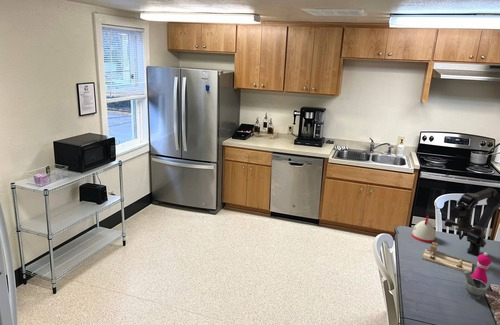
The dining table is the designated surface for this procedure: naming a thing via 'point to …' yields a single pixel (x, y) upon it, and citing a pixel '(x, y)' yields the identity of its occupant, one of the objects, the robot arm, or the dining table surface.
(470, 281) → the mortar and pestle
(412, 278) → the dining table surface
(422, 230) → the white dome
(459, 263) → the gauge board
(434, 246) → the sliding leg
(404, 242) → the dining table surface
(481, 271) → the pepper mill
